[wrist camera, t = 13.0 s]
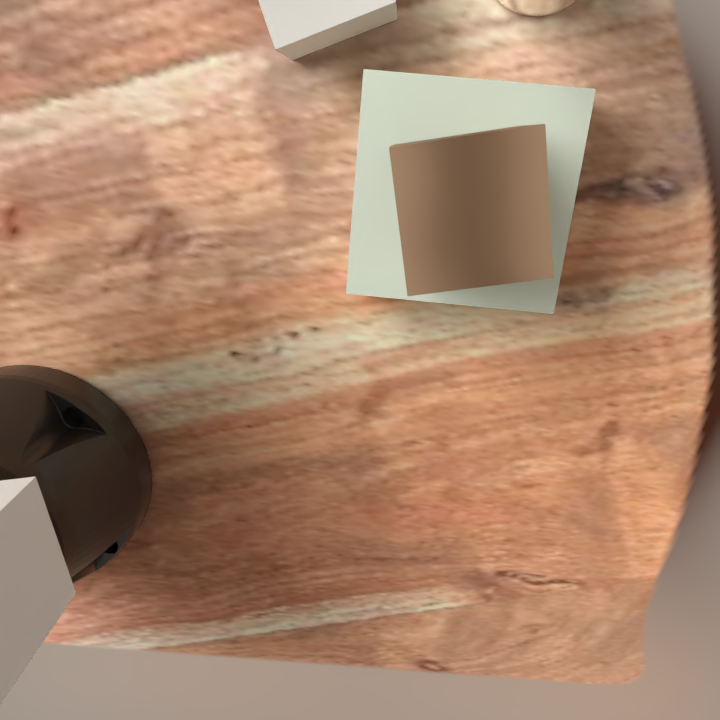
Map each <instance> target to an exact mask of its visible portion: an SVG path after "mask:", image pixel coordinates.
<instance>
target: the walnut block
mask: <svg viewBox="0 0 720 720" xmlns="http://www.w3.org/2000/svg"><path fill="white" fill-rule="evenodd" d="M389 152H390V160H391V168H392V176H393V184H394V192H395V200H396V208H397V216H398V224H399V232H400V240H401V248H402V256H403V264H404V272H405V280H406V288H407V296H415V295H423V294H431V293H439V292H446V291H454V290H462V289H470V288H478V287H486V286H494V285H502V284H510V283H518V282H525V281H533V280H541V279H549V278H553V262H552V243H551V223H550V204H549V185H548V166H547V147H546V127H545V124H537V125H524V126H514V127H507V128H500V129H494V130H487V131H481V132H474V133H467V134H461V135H454V136H448V137H441V138H435V139H428V140H421V141H415V142H408V143H402V144H395V145H392V146H390V147H389Z"/></svg>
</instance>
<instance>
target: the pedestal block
mask: <svg viewBox="0 0 720 720" xmlns="http://www.w3.org/2000/svg"><path fill="white" fill-rule="evenodd" d="M595 92H596V89H593V88H581V87H569V86H558V85H546V84H534V83H522V82H511V81H499V80H487V79H475V78H464V77H452V76H440V75H428V74H416V73H405V72H393V71H381V70H369V69H363V81H362V94H361V107H360V120H359V132H358V145H357V158H356V171H355V184H354V196H353V209H352V222H351V235H350V247H349V260H348V273H347V286H346V294H354V295H364V296H374V297H384V298H395V299H405V300H415V301H425V302H435V303H445V304H455V305H465V306H475V307H486V308H496V309H506V310H516V311H526V312H536V313H546V314H554V310H555V305H556V299H557V294H558V289H559V283H560V278H561V273H562V267H563V262H564V257H565V252H566V246H567V241H568V236H569V230H570V225H571V220H572V214H573V209H574V204H575V198H576V193H577V188H578V183H579V177H580V172H581V167H582V161H583V156H584V151H585V145H586V140H587V135H588V130H589V124H590V119H591V114H592V108H593V103H594V98H595ZM537 124H545V127H546V147H547V166H548V185H549V204H550V223H551V243H552V262H553V278H549V279H541V280H533V281H525V282H518V283H510V284H502V285H494V286H486V287H478V288H470V289H462V290H454V291H446V292H439V293H431V294H423V295H415V296H407V288H406V280H405V272H404V264H403V256H402V248H401V240H400V232H399V224H398V216H397V208H396V200H395V192H394V184H393V176H392V168H391V160H390V152H389V147H390V146H392V145H395V144H402V143H408V142H415V141H421V140H428V139H435V138H441V137H448V136H454V135H461V134H467V133H474V132H481V131H487V130H494V129H500V128H507V127H514V126H524V125H537Z"/></svg>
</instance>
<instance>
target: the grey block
mask: <svg viewBox="0 0 720 720" xmlns="http://www.w3.org/2000/svg"><path fill="white" fill-rule="evenodd" d="M258 1H259V4H260V7H261V10H262V13H263V15H264V18H265V21H266V24H267V27H268V30H269V33H270V36H271V39H272V41H273V44H274V47H275V50H277V51H279V52H280V53H282V54H283V55H285V56H287V57H288V58H290V59H291V60H295V59H297V58H300V57H302V56H305V55H307V54H310V53H313V52H315V51H318V50H320V49H323V48H325V47H328V46H330V45H333V44H336V43H338V42H341V41H343V40H346V39H348V38H351V37H353V36H356V35H359V34H361V33H364V32H366V31H369V30H371V29H374V28H376V27H379V26H382V25H384V24H387V23H389V22H392V21H394V20H397V19H398V15H397V5H396V0H258Z"/></svg>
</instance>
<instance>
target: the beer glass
mask: <svg viewBox="0 0 720 720" xmlns="http://www.w3.org/2000/svg"><path fill="white" fill-rule="evenodd" d="M498 1H499V2H500V3H501V4H502V5H503V6H505V7H506V8H508V9H509V10H511V11H513V12H516V13H519V14H522V15H527V16H545V15H550V14H553V13H556V12H558V11H561V10H563V9H564V8H566V7H568V6H569V5H571V4H572V3H573V2H575V1H576V0H498Z"/></svg>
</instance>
